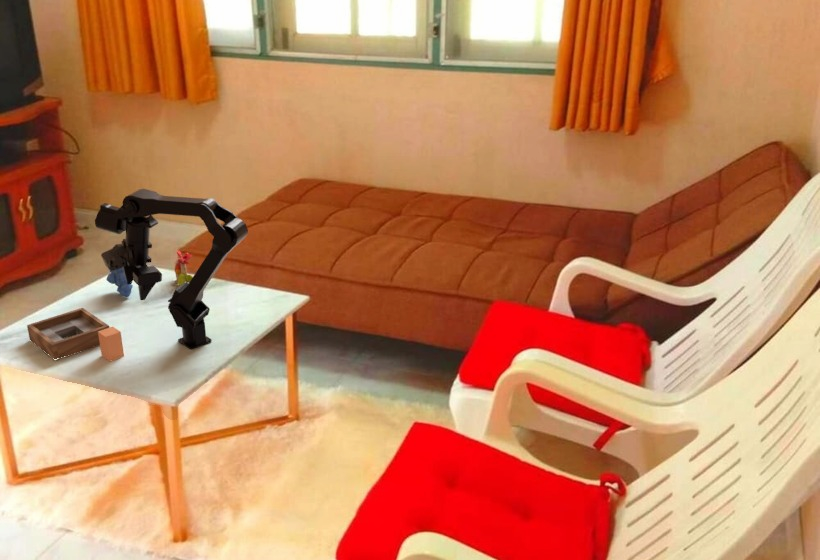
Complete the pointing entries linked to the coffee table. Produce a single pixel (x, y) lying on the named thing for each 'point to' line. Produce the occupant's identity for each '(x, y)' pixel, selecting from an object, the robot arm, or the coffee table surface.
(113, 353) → the peg
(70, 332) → the socket box
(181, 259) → the bird rattle
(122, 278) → the grapes
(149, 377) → the coffee table surface
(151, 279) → the robot arm
